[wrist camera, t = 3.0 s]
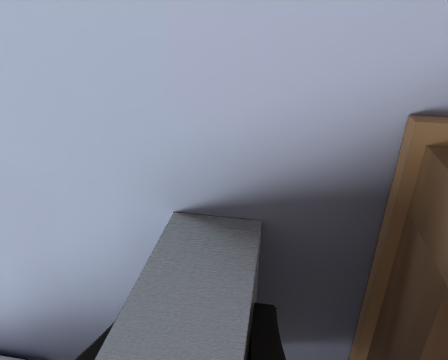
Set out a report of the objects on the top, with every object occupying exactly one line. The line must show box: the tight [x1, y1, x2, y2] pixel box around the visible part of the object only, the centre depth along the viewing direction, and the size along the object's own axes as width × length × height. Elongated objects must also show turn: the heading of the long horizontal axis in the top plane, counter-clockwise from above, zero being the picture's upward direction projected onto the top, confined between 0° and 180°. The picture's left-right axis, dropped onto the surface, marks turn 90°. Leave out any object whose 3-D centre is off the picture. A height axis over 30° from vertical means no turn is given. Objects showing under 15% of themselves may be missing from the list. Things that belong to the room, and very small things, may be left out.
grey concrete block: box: [95, 212, 262, 360], centre depth 11 cm, size 3×6×6 cm, turn 0°
